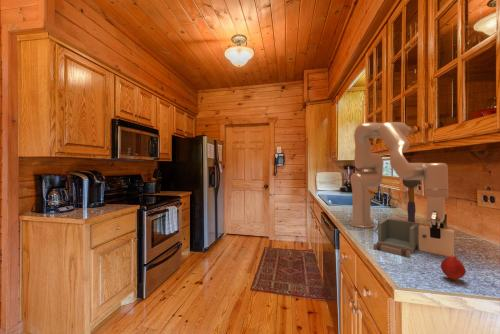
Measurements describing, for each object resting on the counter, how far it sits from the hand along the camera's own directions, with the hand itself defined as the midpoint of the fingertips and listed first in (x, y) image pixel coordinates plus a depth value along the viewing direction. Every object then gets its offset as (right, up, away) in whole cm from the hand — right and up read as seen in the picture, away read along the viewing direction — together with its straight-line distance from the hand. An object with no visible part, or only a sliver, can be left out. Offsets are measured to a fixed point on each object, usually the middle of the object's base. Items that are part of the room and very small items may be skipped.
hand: (437, 235), depth 94 cm
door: (0, -7, +1) cm, 7 cm away
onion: (-12, -8, -21) cm, 26 cm away
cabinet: (-12, -7, +7) cm, 16 cm away
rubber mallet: (+15, -7, +37) cm, 40 cm away
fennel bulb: (+17, -7, +20) cm, 27 cm away
